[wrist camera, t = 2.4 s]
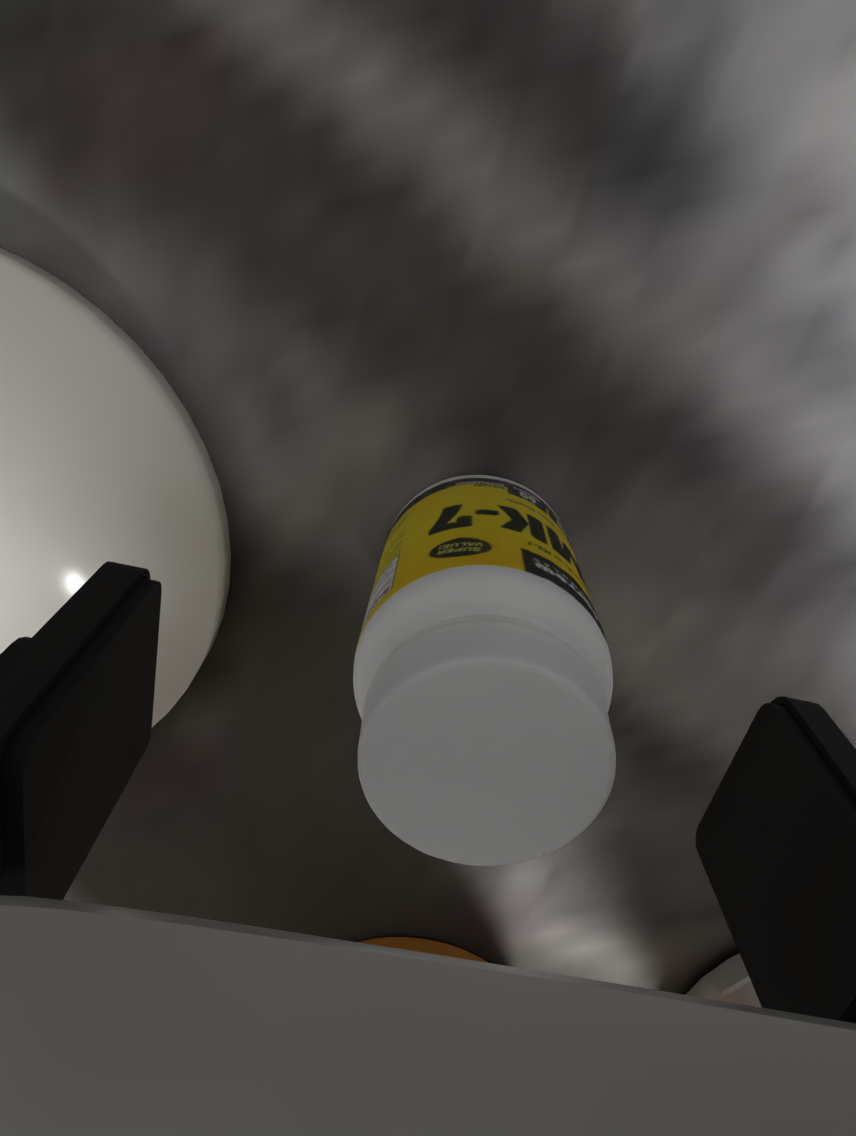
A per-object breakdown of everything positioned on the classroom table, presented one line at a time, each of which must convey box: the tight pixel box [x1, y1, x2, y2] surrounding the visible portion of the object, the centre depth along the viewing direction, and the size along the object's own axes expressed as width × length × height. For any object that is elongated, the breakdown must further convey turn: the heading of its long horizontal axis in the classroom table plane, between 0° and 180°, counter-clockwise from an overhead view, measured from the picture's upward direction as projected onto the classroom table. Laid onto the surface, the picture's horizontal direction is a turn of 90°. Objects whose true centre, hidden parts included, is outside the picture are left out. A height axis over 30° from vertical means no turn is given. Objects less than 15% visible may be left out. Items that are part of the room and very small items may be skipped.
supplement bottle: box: [353, 475, 616, 866], centre depth 15 cm, size 5×5×8 cm
